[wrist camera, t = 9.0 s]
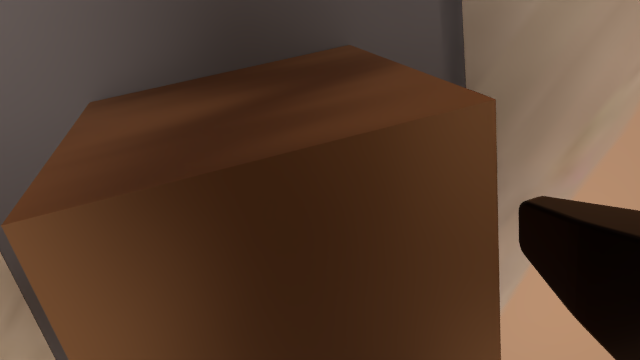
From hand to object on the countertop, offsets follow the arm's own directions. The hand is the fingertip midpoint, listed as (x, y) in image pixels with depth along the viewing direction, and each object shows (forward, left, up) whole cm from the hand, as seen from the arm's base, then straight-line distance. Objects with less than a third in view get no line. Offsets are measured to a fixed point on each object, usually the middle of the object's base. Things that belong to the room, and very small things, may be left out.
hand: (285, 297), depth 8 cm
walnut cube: (0, 0, -5) cm, 5 cm away
